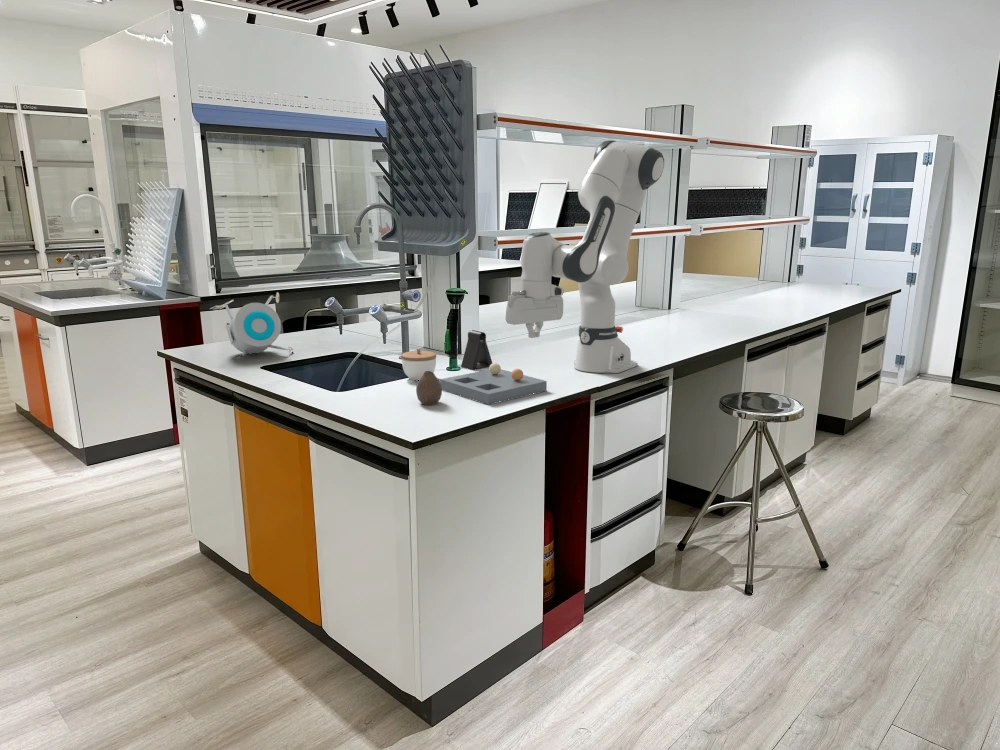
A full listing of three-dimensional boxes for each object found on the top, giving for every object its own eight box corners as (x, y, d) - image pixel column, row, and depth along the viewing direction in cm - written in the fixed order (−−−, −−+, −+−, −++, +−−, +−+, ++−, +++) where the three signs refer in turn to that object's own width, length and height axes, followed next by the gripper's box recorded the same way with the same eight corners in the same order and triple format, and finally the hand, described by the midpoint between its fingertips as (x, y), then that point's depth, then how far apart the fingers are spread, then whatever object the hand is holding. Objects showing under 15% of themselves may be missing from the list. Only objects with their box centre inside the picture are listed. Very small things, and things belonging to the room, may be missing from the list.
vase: (443, 399, 192) (443, 369, 190) (440, 406, 185) (439, 375, 183) (419, 399, 193) (418, 368, 191) (414, 406, 186) (413, 374, 184)
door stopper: (481, 363, 237) (481, 328, 235) (493, 366, 233) (493, 331, 230) (461, 367, 232) (460, 331, 229) (472, 370, 227) (471, 334, 224)
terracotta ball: (517, 378, 204) (517, 366, 203) (525, 380, 201) (525, 368, 200) (508, 380, 201) (508, 368, 201) (516, 382, 199) (517, 370, 198)
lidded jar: (431, 373, 223) (430, 344, 221) (441, 380, 213) (440, 350, 211) (398, 376, 219) (397, 347, 217) (407, 384, 210) (406, 353, 207)
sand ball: (495, 372, 211) (495, 361, 210) (503, 374, 208) (503, 363, 208) (486, 374, 209) (486, 363, 208) (494, 376, 206) (494, 364, 205)
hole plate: (497, 377, 217) (496, 368, 217) (546, 391, 201) (546, 381, 201) (440, 389, 203) (440, 379, 203) (488, 404, 187) (488, 394, 187)
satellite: (271, 301, 264) (202, 312, 251) (284, 285, 248) (211, 296, 234) (287, 358, 263) (219, 372, 250) (301, 346, 247) (229, 360, 233)
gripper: (516, 293, 190) (515, 342, 194) (567, 289, 204) (565, 335, 207) (501, 290, 195) (500, 339, 198) (552, 287, 208) (550, 332, 211)
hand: (534, 337), depth 203 cm, fingers closed
